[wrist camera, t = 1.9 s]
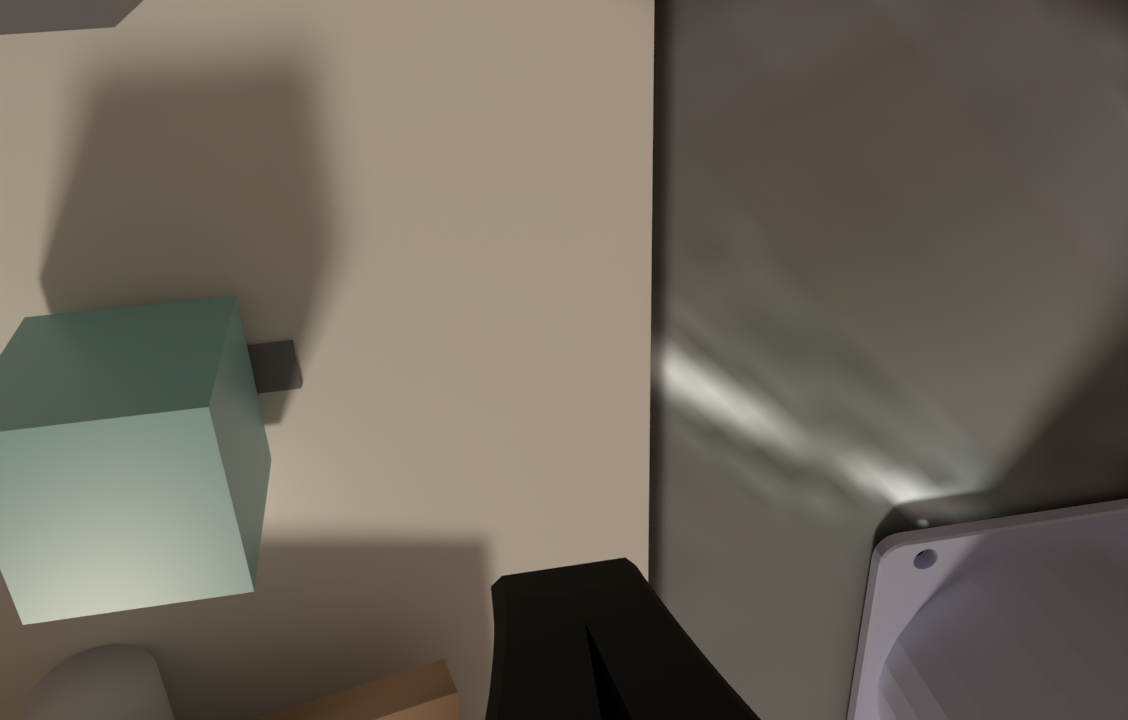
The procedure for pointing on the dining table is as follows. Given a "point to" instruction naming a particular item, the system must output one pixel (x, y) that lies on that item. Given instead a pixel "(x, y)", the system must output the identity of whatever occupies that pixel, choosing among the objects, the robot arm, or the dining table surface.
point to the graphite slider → (61, 14)
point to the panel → (352, 316)
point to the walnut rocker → (387, 699)
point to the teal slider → (130, 459)
